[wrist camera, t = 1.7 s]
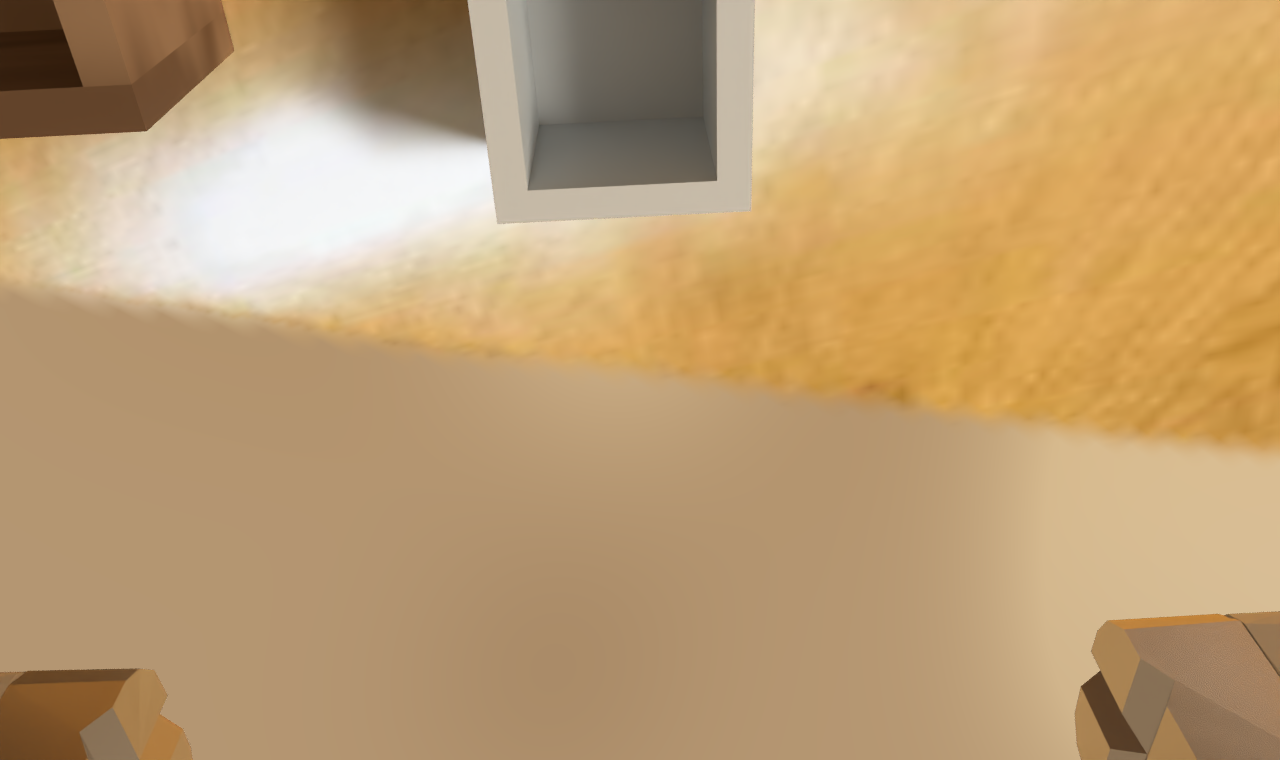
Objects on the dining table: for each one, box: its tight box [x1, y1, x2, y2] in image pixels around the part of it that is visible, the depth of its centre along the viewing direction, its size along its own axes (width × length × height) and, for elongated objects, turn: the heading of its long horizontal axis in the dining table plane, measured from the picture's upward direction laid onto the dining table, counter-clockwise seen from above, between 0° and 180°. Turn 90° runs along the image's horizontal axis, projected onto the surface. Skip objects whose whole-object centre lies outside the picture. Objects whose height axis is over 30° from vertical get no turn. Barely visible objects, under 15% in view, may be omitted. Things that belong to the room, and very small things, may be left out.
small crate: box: [468, 0, 755, 224], centre depth 24 cm, size 6×6×5 cm
